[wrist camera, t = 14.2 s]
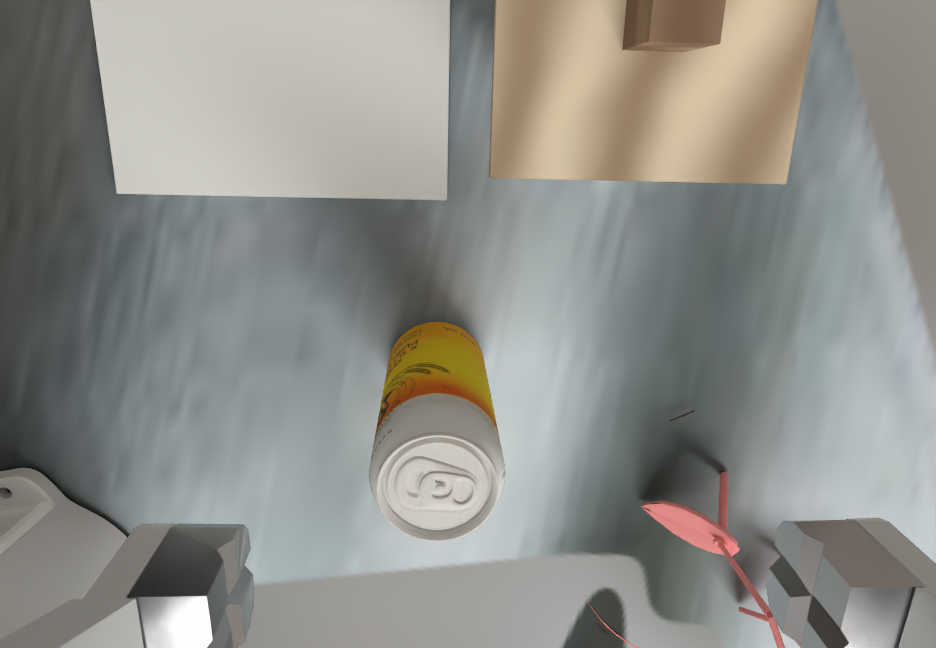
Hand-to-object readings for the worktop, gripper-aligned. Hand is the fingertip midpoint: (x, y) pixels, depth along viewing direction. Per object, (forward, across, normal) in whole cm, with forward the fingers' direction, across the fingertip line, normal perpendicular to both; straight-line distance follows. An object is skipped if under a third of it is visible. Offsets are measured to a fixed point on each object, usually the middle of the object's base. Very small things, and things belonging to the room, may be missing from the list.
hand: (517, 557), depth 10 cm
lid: (+25, -9, -11) cm, 29 cm away
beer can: (+31, +1, +9) cm, 33 cm away
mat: (+31, +10, -11) cm, 34 cm away
